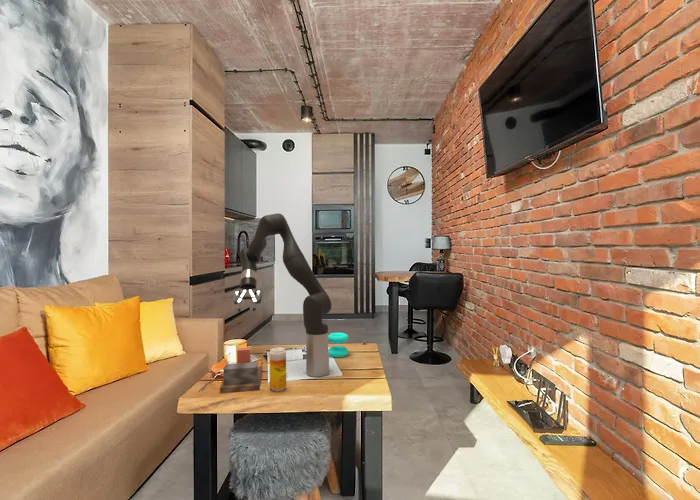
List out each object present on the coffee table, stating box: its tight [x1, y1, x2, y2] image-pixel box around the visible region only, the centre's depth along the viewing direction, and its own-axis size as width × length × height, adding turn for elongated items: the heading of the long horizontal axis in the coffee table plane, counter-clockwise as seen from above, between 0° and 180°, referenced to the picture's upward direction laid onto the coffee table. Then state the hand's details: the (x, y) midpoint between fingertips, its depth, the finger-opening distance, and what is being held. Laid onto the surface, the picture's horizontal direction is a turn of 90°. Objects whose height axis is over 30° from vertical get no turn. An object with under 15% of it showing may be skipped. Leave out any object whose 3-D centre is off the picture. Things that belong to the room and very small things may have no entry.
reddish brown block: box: [236, 347, 252, 363], centre depth 153 cm, size 5×3×9 cm, turn 100°
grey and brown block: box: [219, 361, 263, 394], centre depth 147 cm, size 14×20×8 cm
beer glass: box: [269, 346, 287, 392], centre depth 140 cm, size 6×6×15 cm
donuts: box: [328, 332, 349, 358], centre depth 179 cm, size 10×10×10 cm
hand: (246, 310), depth 167 cm, fingers open, 5 cm apart
